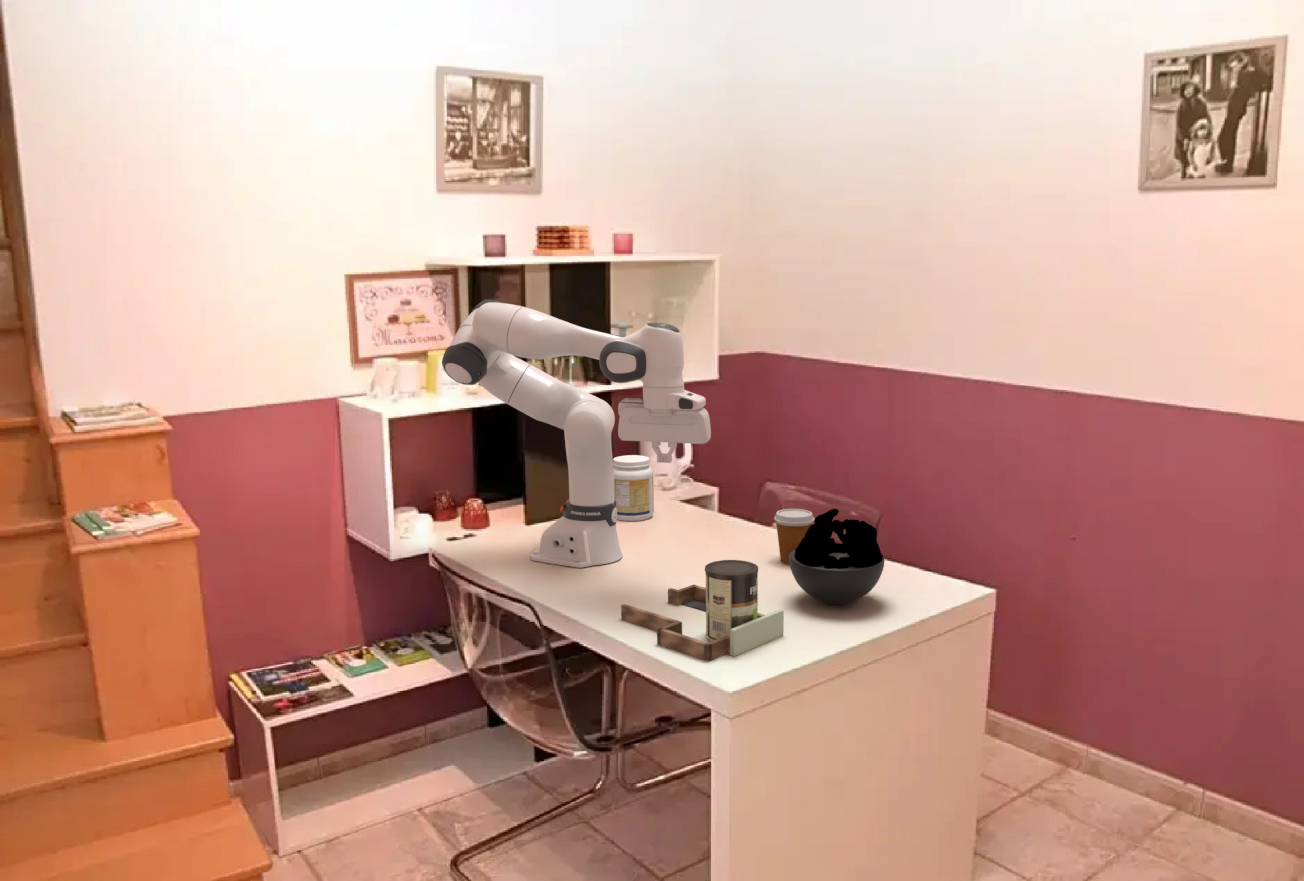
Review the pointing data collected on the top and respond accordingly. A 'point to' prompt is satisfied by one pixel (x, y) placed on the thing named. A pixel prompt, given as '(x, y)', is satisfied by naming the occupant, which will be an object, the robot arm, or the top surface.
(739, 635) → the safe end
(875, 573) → the coal bowl
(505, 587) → the top surface
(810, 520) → the disposable coffee cup
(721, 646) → the trap lane
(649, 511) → the supplement tub
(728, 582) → the coffee can
